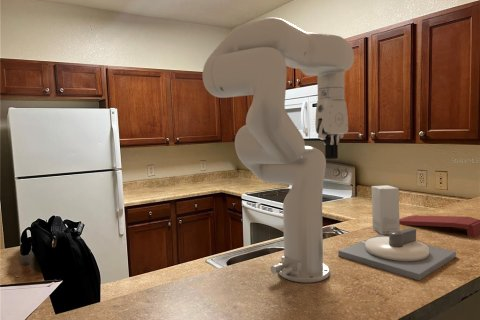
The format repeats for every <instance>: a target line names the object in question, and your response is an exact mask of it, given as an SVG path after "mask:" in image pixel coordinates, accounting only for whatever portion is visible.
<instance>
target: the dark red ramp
mask: <svg viewBox="0 0 480 320" xmlns="http://www.w3.org/2000/svg"><path fill="white" fill-rule="evenodd" d="M399 224H400V225H403V226H405V225H406V226H421V227H422V226H423V227H424V226H425V227H445V228H447V227H448V228H450V227H451V228H459V229H465V230H466V234H467V237H470V236H471V238H477V237H479V236H480V219H478V218H476V217H475V218H474V217H472V216H451V215H449V216H444V215H410V216H409V215H408V216H406V217H402V218H399Z"/></svg>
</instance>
